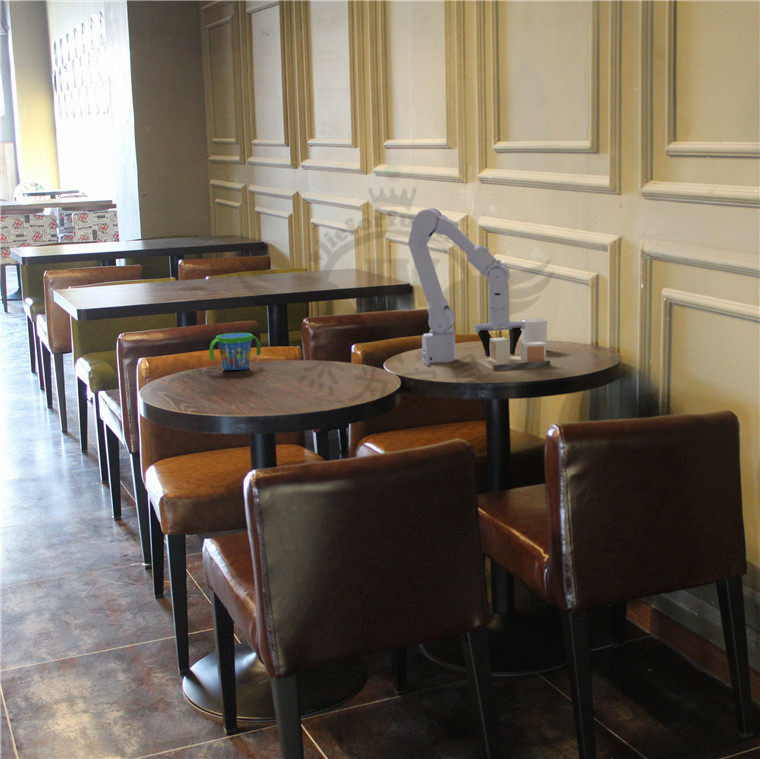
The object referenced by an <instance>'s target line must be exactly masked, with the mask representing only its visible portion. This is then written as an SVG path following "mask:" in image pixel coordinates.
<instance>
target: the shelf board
mask: <svg viewBox="0 0 760 759" xmlns="http://www.w3.org/2000/svg"><path fill="white" fill-rule="evenodd" d="M475 360H476V361H477V362H479V363H481V364H482V365H484V366H485V367H487V368H489V369H491V370H492V371H494V372H495V371H508V370H509V371H511V370H523V369H534V368H535V369H536V368H548V367H551V360H546V361H537V362H524V363H521V355H518V356H517V355H516V356H515V355H513V356H510V362H497V363H496V362H495V361H493V360H491V359H490V357H486V358H479V359H478V358H477V359H475Z"/></svg>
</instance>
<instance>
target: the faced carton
mask: <svg viewBox="0 0 760 759" xmlns="http://www.w3.org/2000/svg"><path fill="white" fill-rule="evenodd" d="M519 344H520V345H519V346H520V347H519V348H520V356H521V363H524V362H537V361H547V342H546V343H543V342H527V343H522V342H520V343H519Z"/></svg>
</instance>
